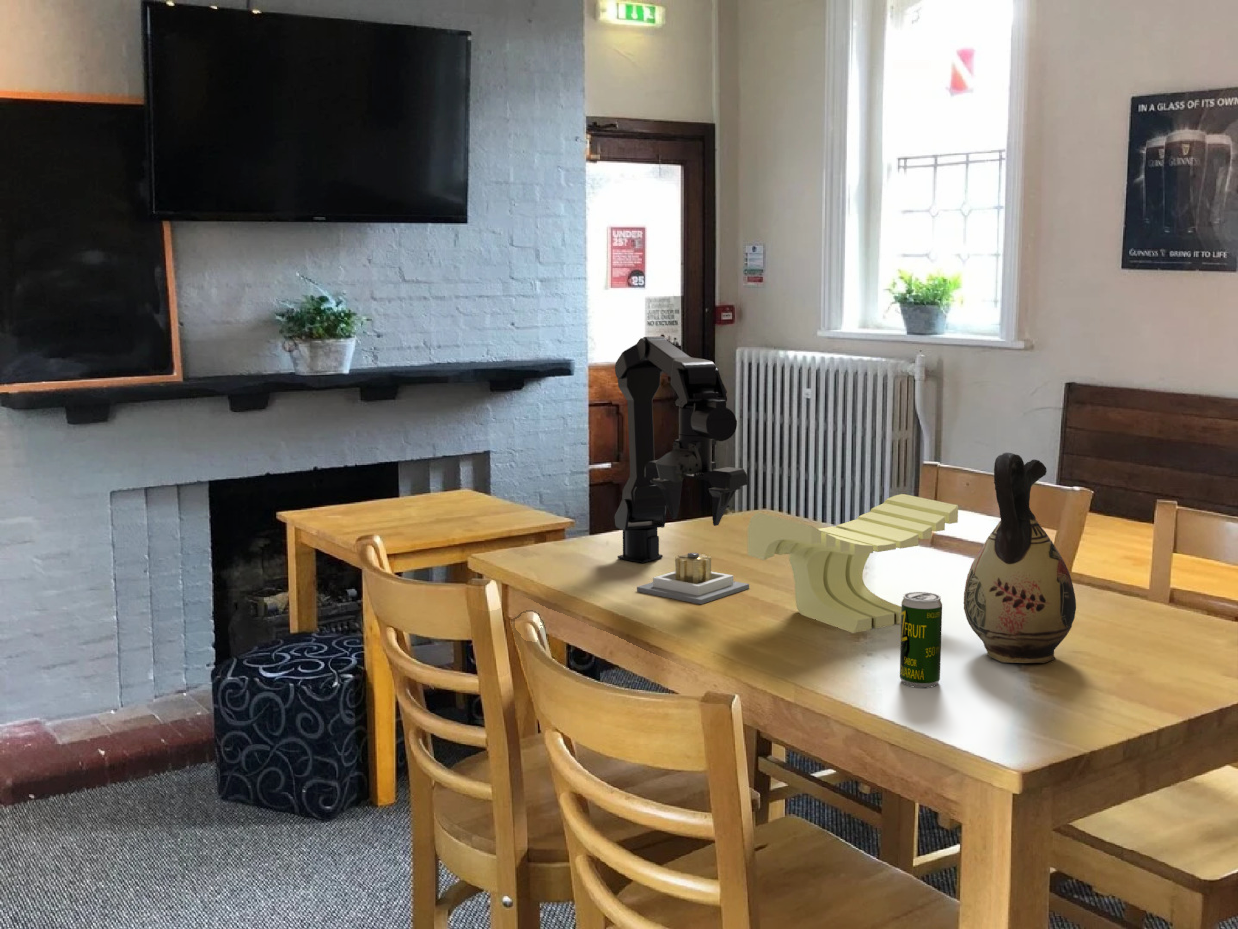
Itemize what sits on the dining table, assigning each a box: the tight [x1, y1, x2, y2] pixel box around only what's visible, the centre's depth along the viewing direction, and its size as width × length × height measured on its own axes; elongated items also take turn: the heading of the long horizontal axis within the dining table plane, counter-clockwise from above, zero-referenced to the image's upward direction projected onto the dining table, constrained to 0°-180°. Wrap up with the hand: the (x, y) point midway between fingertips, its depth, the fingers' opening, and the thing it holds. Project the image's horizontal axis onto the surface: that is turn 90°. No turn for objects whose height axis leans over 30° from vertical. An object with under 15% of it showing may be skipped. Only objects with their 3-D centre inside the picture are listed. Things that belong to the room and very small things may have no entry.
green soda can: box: [899, 591, 943, 688], centre depth 177 cm, size 5×5×12 cm
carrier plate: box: [636, 571, 750, 605], centre depth 229 cm, size 14×14×2 cm
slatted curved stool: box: [747, 493, 959, 634], centre depth 210 cm, size 30×16×18 cm, turn 121°
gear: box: [674, 552, 712, 584], centre depth 228 cm, size 6×6×6 cm
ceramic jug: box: [963, 452, 1077, 664], centre depth 186 cm, size 17×15×30 cm
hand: (694, 522), depth 229 cm, fingers open, 9 cm apart
